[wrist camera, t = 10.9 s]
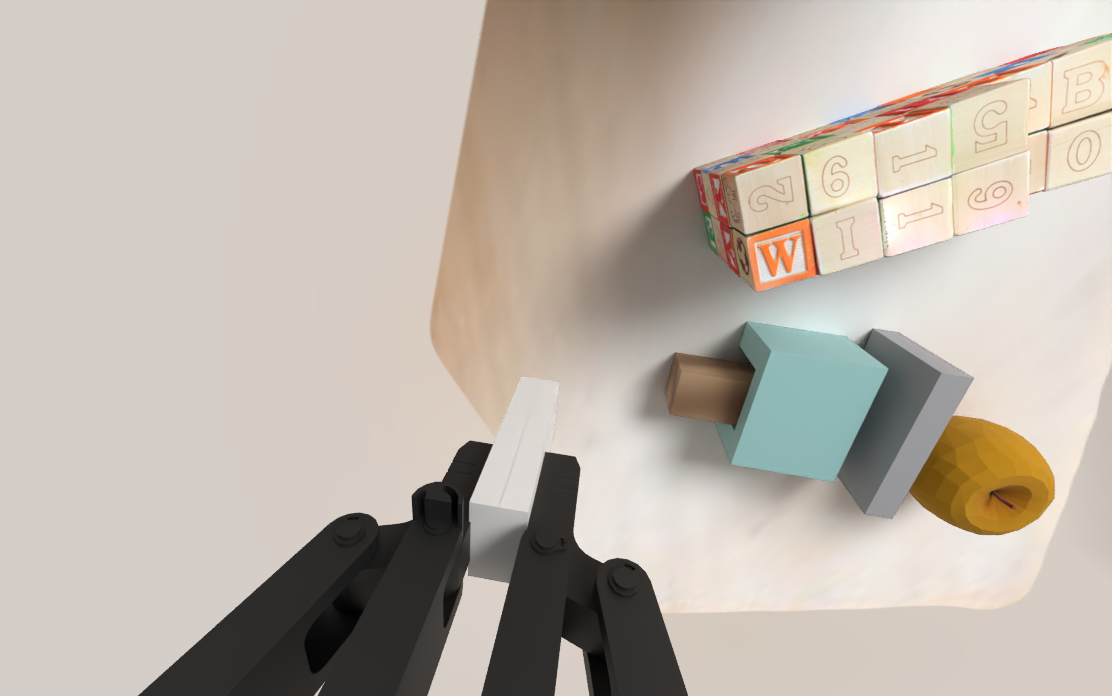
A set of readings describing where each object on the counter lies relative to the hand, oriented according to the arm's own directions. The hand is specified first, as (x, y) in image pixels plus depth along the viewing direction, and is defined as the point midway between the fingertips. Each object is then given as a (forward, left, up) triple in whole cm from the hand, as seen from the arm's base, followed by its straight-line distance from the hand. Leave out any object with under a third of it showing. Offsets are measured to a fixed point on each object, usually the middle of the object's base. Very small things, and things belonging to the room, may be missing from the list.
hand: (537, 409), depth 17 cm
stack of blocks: (-11, +18, -21) cm, 30 cm away
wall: (+7, +25, -21) cm, 33 cm away
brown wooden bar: (+7, +14, -21) cm, 27 cm away
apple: (+10, +33, -21) cm, 40 cm away
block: (+7, +19, -21) cm, 29 cm away
